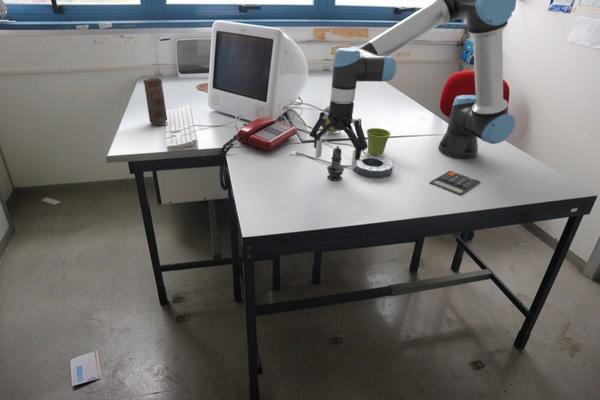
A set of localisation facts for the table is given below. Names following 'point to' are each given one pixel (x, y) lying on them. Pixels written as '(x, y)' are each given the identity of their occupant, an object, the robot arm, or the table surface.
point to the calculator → (455, 182)
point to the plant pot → (377, 140)
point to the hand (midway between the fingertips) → (335, 162)
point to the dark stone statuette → (335, 166)
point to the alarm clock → (328, 122)
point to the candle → (155, 101)
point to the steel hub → (377, 172)
